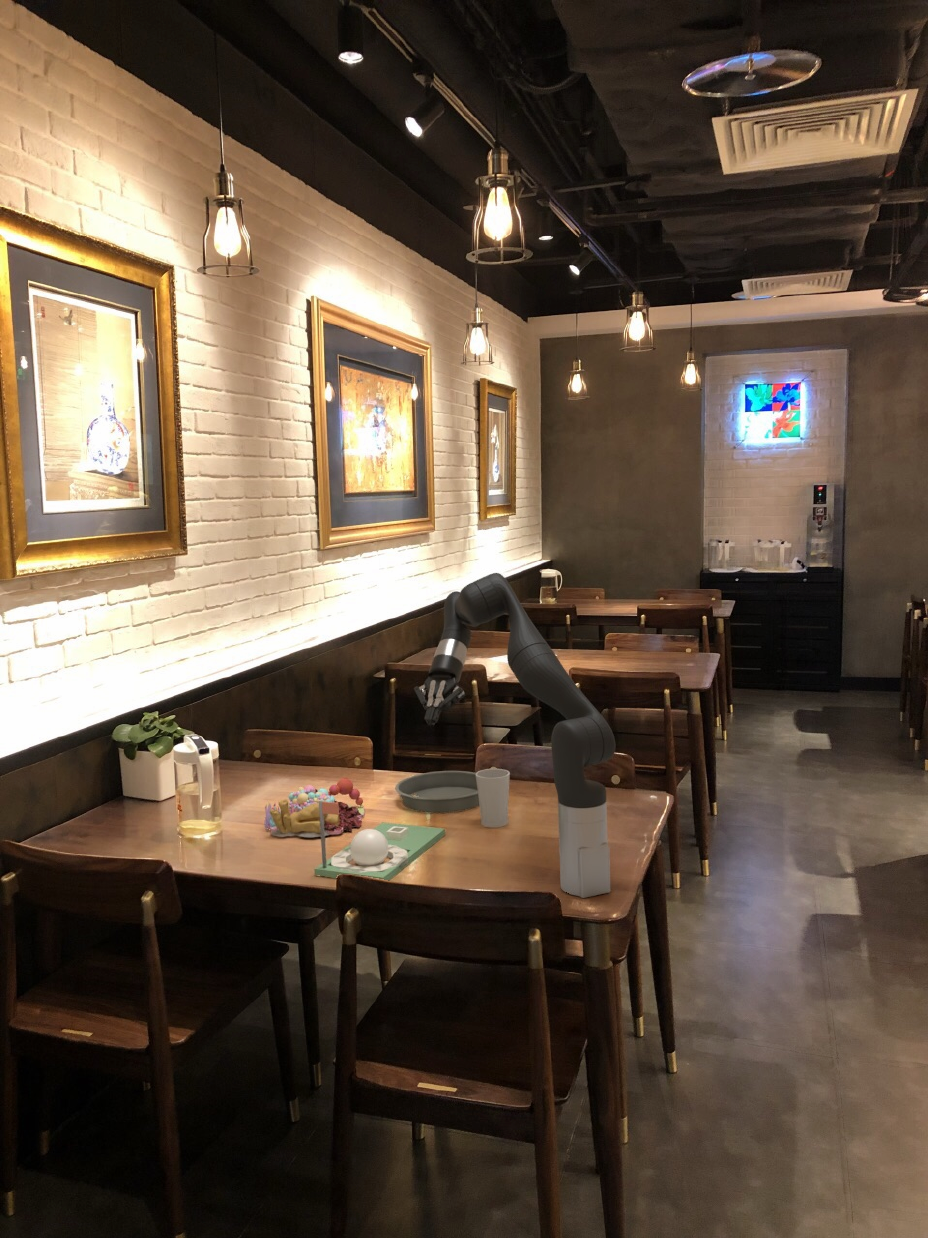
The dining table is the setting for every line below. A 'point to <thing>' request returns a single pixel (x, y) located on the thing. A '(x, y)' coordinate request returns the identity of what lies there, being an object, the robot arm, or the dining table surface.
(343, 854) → the mini golf board
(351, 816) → the coral reef model
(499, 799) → the cup
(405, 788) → the round baking tin
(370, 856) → the ball
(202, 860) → the dining table surface
